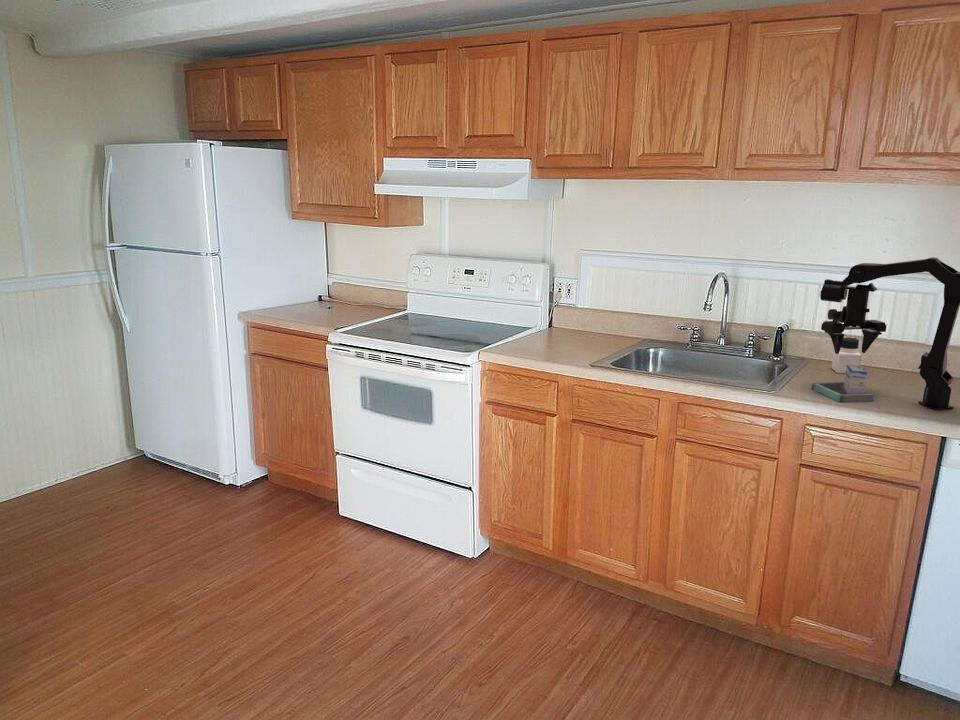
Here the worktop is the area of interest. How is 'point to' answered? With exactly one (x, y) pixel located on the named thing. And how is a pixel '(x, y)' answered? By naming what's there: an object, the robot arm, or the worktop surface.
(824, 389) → the frame
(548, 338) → the worktop surface
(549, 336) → the worktop surface
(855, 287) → the robot arm
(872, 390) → the worktop surface
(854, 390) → the medicine box
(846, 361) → the medicine bottle
